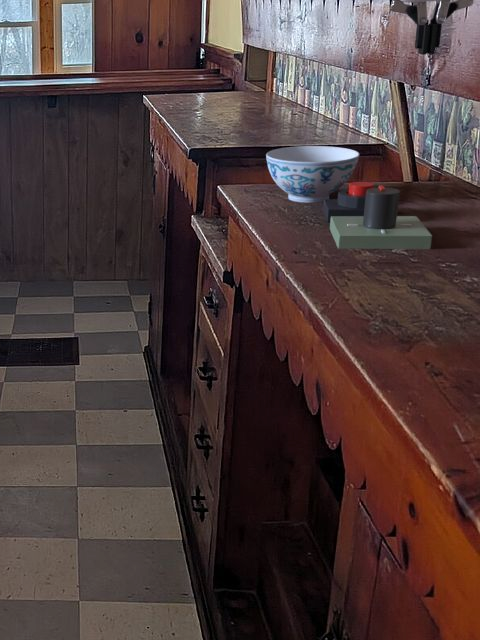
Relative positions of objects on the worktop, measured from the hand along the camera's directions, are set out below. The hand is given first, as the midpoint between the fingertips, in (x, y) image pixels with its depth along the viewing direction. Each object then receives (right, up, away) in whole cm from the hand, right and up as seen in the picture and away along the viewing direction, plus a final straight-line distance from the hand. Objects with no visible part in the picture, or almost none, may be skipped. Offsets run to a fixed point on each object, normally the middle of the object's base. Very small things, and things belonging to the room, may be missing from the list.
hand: (426, 53), depth 125 cm
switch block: (-5, -22, +12) cm, 25 cm away
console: (-7, -27, 0) cm, 28 cm away
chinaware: (-8, -17, +25) cm, 31 cm away
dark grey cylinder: (-7, -25, 0) cm, 26 cm away
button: (-5, -19, +10) cm, 22 cm away
